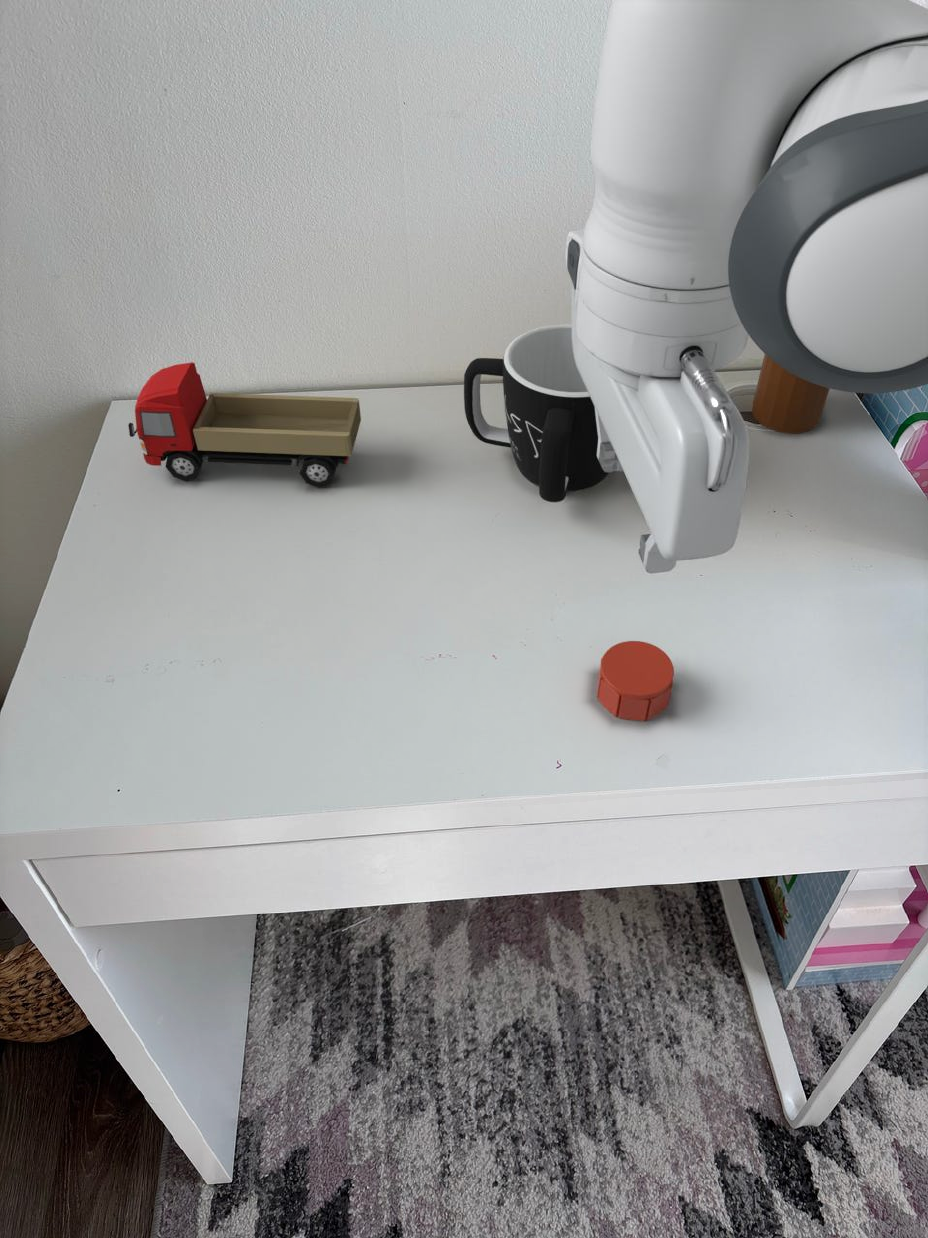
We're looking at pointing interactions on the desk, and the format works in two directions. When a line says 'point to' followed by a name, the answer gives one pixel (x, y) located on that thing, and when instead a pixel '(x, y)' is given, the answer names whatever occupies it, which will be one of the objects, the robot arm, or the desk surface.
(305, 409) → the toy truck
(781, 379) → the bottle
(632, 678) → the cap
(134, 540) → the desk surface
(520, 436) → the mug
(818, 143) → the robot arm
